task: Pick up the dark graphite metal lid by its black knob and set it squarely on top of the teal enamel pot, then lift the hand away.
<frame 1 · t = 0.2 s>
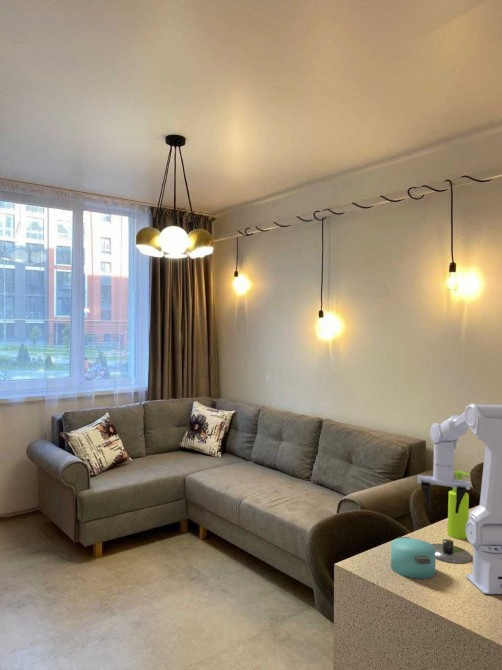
hand: (442, 510, 149), 10 cm above the table, tool pointing down, fingers open, 7 cm apart
lid: (447, 555, 142), on the table
pot: (412, 569, 131), on the table
soap dispenser: (458, 536, 156), on the table
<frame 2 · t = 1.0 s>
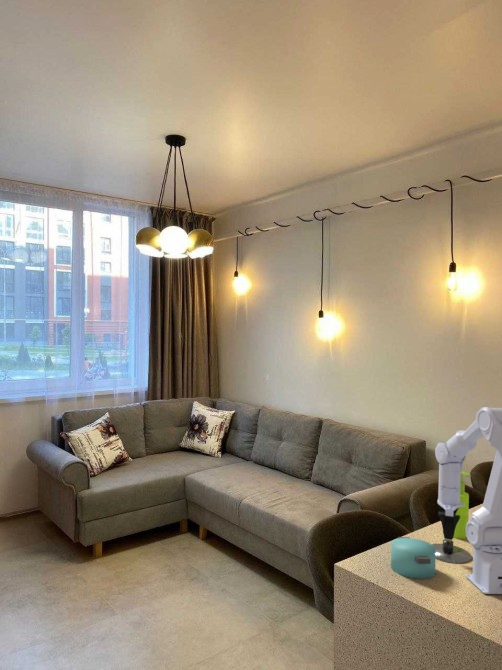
hand: (448, 534, 142), 5 cm above the table, tool pointing down, fingers open, 7 cm apart
nothing on the table moved.
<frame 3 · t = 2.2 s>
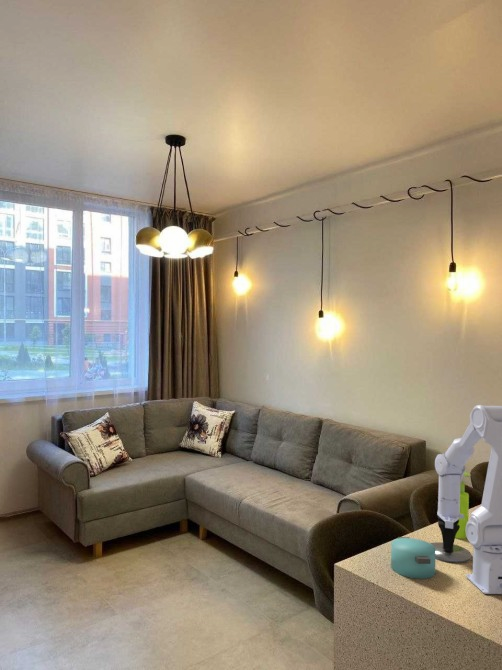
hand: (448, 546, 142), 2 cm above the table, tool pointing down, fingers closed on lid, 3 cm apart
lid: (447, 554, 142), on the table, touching gripper
everything else where it was.
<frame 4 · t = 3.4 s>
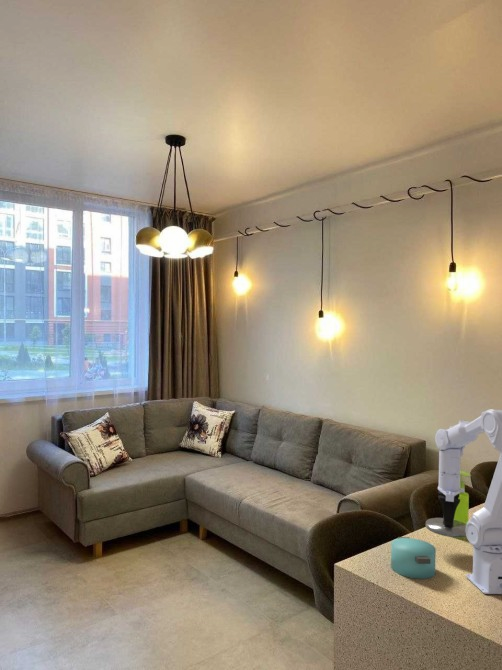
hand: (448, 520, 142), 9 cm above the table, tool pointing down, fingers closed on lid, 3 cm apart
lid: (448, 529, 142), point 7 cm above the table, touching gripper
everything else where it was.
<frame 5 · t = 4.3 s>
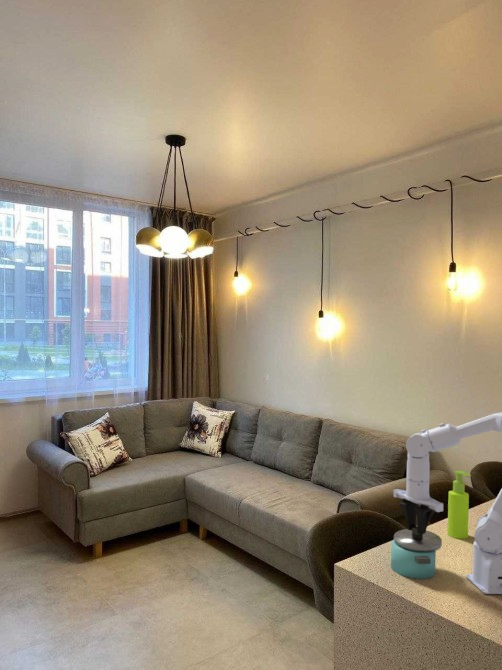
hand: (416, 531, 132), 9 cm above the table, tool pointing down, fingers closed on lid, 3 cm apart
lid: (417, 541, 132), point 7 cm above the table, tilted 5°, touching gripper
everything else where it was.
when the fingers open (9 cm above the table, at t = 5.1 s): lid stays where it is, resting on pot.
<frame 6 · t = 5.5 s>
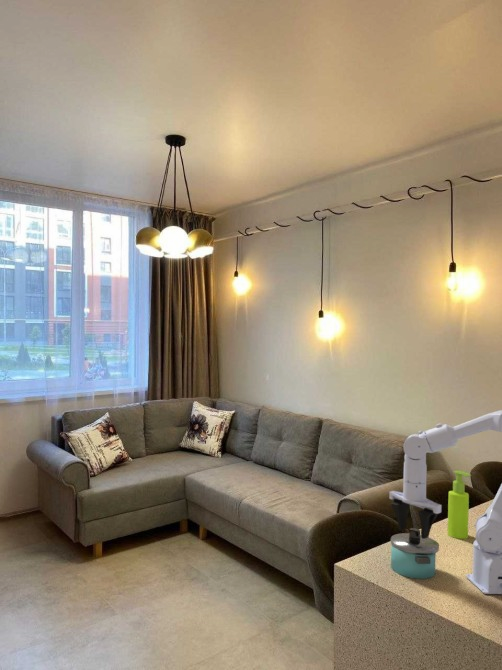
hand: (413, 533, 131), 9 cm above the table, tool pointing down, fingers open, 6 cm apart
lid: (414, 545, 131), point 6 cm above the table, touching pot
everything else where it was.
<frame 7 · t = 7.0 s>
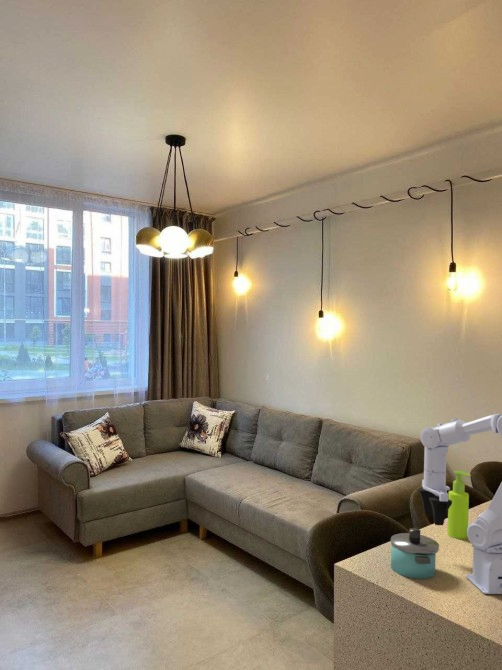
hand: (433, 519, 139), 10 cm above the table, tool pointing down, fingers open, 7 cm apart
nothing on the table moved.
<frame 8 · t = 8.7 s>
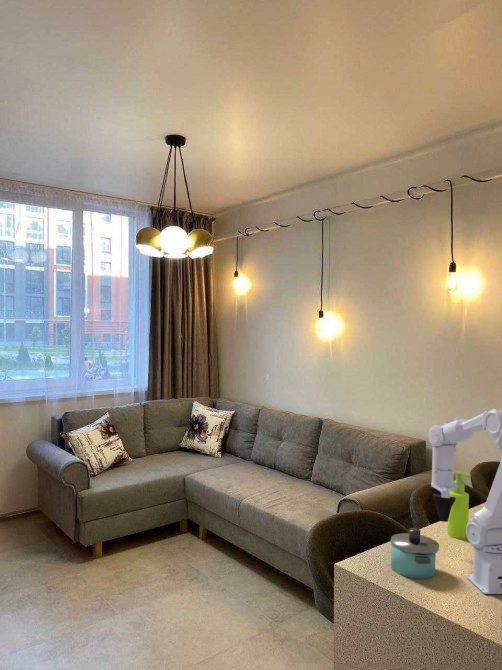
hand: (441, 516, 142), 10 cm above the table, tool pointing down, fingers open, 7 cm apart
nothing on the table moved.
at the end: lid 0.5 cm off-centre on the pot, point 6.0 cm above the pot's base; lid tilted 0°; the gripper is holding nothing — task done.
